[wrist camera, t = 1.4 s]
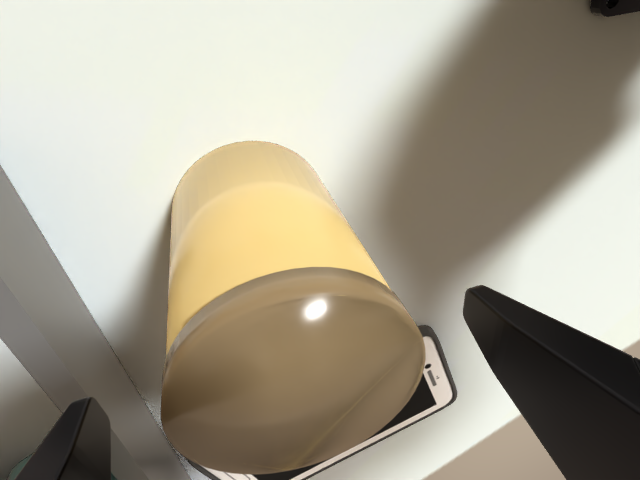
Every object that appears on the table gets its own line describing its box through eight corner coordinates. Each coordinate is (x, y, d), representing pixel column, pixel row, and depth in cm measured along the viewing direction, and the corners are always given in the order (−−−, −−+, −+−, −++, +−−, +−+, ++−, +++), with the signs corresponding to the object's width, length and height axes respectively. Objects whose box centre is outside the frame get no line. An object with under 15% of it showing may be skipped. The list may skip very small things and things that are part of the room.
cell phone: (179, 442, 22) (179, 459, 21) (426, 314, 22) (435, 327, 21) (249, 492, 26) (251, 508, 26) (453, 387, 26) (461, 400, 26)
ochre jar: (317, 124, 14) (431, 260, 8) (332, 255, 17) (421, 427, 11) (145, 159, 13) (112, 346, 7) (196, 291, 16) (205, 501, 10)
